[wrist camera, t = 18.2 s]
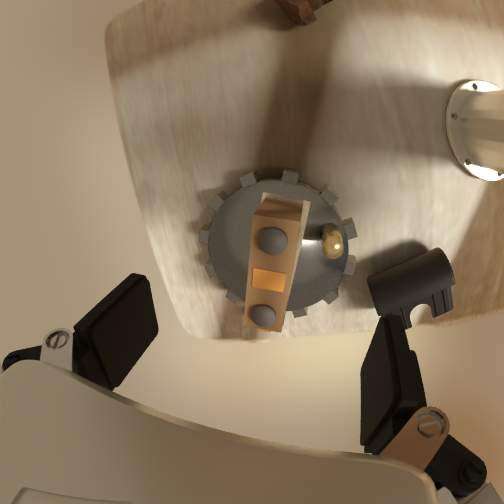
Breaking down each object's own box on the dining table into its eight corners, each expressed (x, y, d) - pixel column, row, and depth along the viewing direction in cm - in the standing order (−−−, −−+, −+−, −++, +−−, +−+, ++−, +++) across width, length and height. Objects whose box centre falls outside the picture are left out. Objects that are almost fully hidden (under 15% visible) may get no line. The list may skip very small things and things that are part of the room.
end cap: (431, 237, 31) (452, 260, 25) (442, 281, 33) (459, 310, 27) (362, 266, 34) (370, 295, 28) (378, 308, 36) (386, 340, 30)
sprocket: (373, 188, 29) (387, 203, 23) (332, 321, 37) (332, 355, 31) (212, 156, 31) (188, 163, 25) (201, 291, 39) (182, 319, 33)
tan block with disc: (303, 203, 29) (299, 224, 23) (287, 300, 34) (280, 336, 28) (265, 197, 30) (251, 216, 24) (254, 294, 35) (241, 328, 29)
